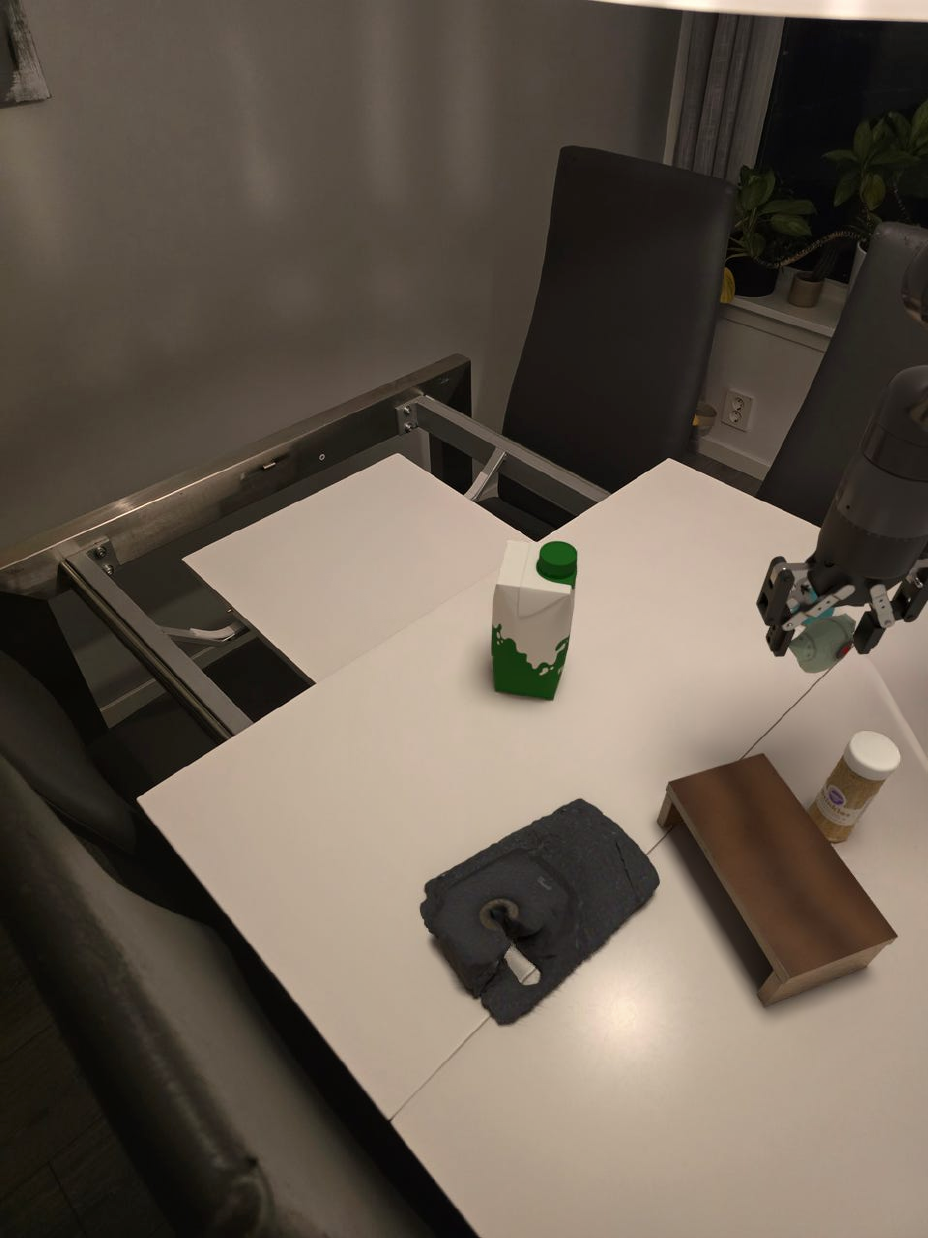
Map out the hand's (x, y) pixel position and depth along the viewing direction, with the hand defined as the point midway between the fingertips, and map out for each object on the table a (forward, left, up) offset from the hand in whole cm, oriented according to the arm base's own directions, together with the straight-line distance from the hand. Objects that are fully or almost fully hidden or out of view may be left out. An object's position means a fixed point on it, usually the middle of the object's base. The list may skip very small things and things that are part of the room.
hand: (817, 648), depth 72 cm
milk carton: (+24, -16, -20) cm, 35 cm away
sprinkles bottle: (-5, +7, -20) cm, 22 cm away
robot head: (-1, 0, -3) cm, 4 cm away
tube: (-15, -24, -20) cm, 35 cm away
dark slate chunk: (+26, +13, -20) cm, 35 cm away
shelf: (+5, +13, -20) cm, 25 cm away
